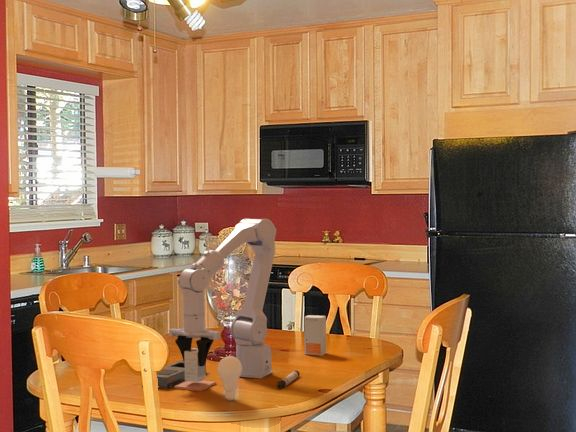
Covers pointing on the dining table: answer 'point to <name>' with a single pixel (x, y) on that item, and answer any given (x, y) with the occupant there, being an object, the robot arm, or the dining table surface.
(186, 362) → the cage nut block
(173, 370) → the grey slotted tray
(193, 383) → the mat
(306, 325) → the skincare box
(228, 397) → the lightbulb
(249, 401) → the dining table surface
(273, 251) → the robot arm
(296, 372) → the marker
